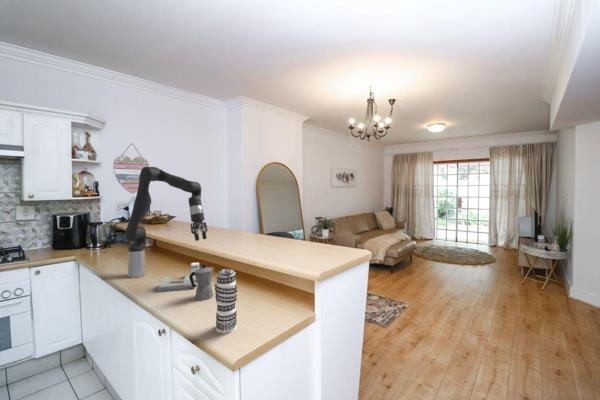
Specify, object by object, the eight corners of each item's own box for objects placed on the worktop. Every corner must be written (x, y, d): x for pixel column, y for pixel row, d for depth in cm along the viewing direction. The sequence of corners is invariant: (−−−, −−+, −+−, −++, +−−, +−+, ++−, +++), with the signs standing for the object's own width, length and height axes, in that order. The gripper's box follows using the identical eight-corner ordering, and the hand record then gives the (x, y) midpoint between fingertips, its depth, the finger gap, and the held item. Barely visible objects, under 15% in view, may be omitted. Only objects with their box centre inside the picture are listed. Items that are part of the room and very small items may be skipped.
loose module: (191, 278, 175) (190, 264, 174) (192, 276, 179) (191, 262, 179) (198, 277, 176) (198, 264, 176) (199, 275, 181) (199, 262, 180)
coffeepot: (208, 291, 154) (208, 260, 153) (219, 294, 149) (219, 263, 148) (184, 300, 141) (183, 267, 140) (195, 305, 136) (195, 270, 135)
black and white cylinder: (212, 325, 116) (212, 269, 115) (233, 320, 121) (233, 266, 119) (218, 336, 108) (217, 275, 107) (240, 329, 113) (239, 271, 112)
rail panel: (156, 292, 152) (156, 283, 152) (161, 284, 164) (161, 276, 163) (194, 288, 157) (194, 280, 157) (196, 281, 169) (196, 274, 168)
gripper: (197, 214, 170) (201, 239, 168) (184, 214, 156) (188, 242, 154) (208, 212, 169) (212, 237, 167) (196, 212, 155) (200, 239, 153)
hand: (201, 239), depth 161 cm, fingers open, 8 cm apart
